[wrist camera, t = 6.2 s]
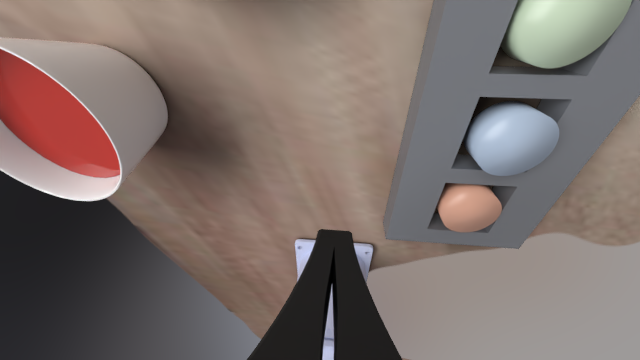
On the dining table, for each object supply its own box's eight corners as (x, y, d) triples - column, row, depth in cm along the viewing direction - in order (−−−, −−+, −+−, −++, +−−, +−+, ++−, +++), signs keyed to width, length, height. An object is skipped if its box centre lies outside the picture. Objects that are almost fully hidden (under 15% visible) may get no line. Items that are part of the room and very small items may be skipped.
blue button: (516, 160, 16) (534, 177, 15) (455, 157, 16) (466, 174, 15) (550, 101, 14) (576, 114, 12) (477, 99, 14) (494, 111, 13)
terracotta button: (476, 216, 20) (487, 234, 19) (428, 212, 21) (435, 230, 19) (497, 178, 18) (512, 195, 16) (442, 175, 18) (451, 191, 17)
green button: (562, 61, 13) (591, 69, 12) (486, 59, 14) (505, 67, 12) (615, -36, 11) (662, -43, 9) (522, -35, 11) (552, -42, 10)
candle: (121, 0, 14) (-9, -2, 9) (207, 137, 19) (156, 186, 14) (22, 51, 16) (-127, 72, 11) (122, 161, 21) (51, 211, 16)
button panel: (506, 230, 22) (518, 248, 20) (383, 222, 22) (385, 239, 21) (733, -101, 10) (809, -121, 8) (455, -94, 11) (474, -111, 9)
